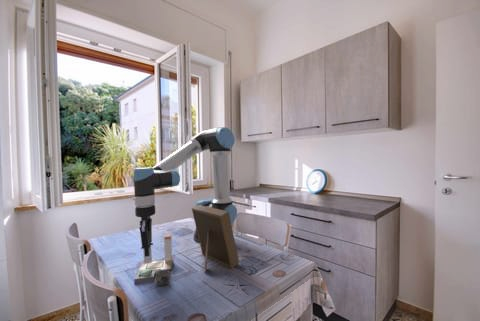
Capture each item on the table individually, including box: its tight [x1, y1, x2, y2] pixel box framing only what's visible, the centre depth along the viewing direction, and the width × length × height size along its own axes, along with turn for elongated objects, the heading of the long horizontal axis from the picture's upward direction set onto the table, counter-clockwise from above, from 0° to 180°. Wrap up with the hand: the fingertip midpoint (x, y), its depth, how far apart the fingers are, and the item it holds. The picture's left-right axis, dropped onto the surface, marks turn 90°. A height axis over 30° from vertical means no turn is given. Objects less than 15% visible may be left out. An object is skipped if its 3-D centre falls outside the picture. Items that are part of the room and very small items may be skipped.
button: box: [140, 269, 151, 277], centre depth 90 cm, size 4×4×3 cm
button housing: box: [133, 268, 156, 285], centre depth 90 cm, size 7×7×2 cm
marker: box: [164, 234, 173, 263], centre depth 103 cm, size 3×3×12 cm
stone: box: [155, 269, 172, 287], centre depth 87 cm, size 10×5×8 cm
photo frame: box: [191, 205, 240, 274], centre depth 102 cm, size 15×22×25 cm
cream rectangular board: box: [136, 258, 174, 274], centre depth 99 cm, size 14×10×1 cm
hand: (148, 262), depth 92 cm, fingers closed
